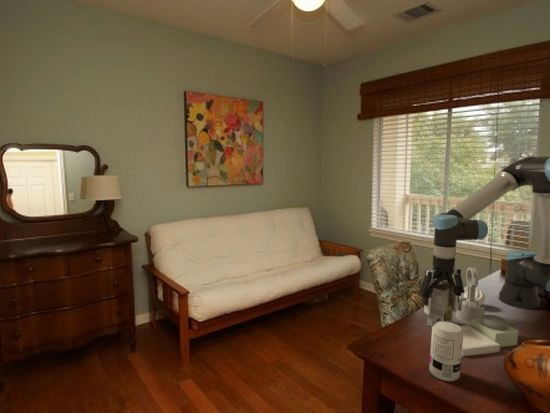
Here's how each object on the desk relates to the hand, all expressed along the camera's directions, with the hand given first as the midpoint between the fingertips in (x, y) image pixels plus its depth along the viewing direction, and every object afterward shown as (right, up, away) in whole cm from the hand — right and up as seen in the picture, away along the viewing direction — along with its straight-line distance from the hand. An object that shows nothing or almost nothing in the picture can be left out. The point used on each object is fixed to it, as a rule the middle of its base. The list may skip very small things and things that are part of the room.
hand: (440, 311), depth 134 cm
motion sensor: (+23, -3, +17) cm, 29 cm away
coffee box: (0, -5, +1) cm, 5 cm away
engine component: (+15, -4, +7) cm, 17 cm away
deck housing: (+7, -7, -12) cm, 16 cm away
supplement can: (-13, -10, -30) cm, 34 cm away
